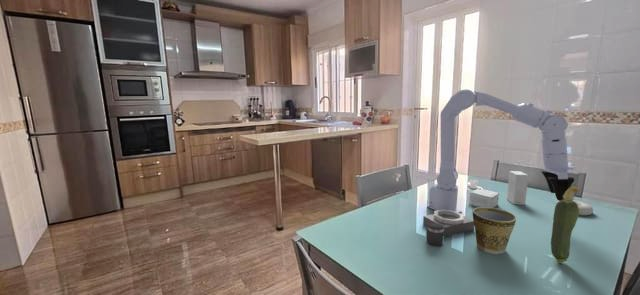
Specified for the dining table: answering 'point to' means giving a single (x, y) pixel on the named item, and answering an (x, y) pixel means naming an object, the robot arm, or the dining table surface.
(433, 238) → the lens
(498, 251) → the ceramic cup
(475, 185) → the teacup and saucer
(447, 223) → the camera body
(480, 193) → the small box
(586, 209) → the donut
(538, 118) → the robot arm
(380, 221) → the dining table surface
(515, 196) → the skincare box
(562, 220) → the vegetable
